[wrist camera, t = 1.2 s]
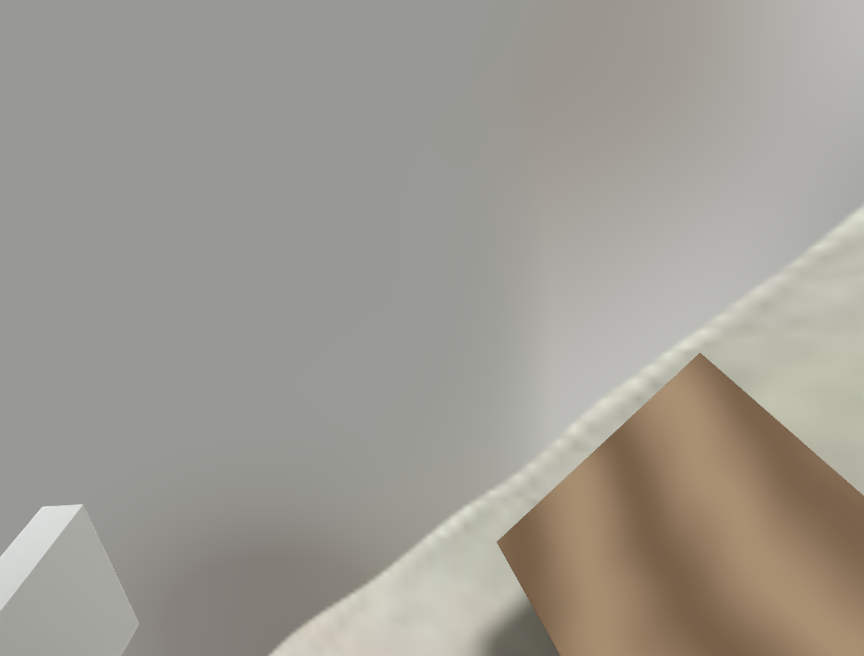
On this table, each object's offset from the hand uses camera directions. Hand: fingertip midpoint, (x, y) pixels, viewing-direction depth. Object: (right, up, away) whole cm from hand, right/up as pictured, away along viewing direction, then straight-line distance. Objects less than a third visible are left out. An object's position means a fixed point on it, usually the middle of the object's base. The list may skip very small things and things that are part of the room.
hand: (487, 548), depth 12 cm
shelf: (+13, -9, +23) cm, 28 cm away
